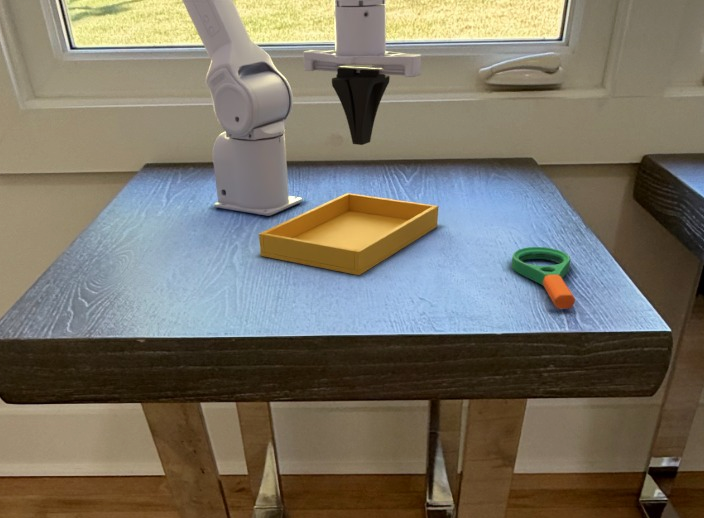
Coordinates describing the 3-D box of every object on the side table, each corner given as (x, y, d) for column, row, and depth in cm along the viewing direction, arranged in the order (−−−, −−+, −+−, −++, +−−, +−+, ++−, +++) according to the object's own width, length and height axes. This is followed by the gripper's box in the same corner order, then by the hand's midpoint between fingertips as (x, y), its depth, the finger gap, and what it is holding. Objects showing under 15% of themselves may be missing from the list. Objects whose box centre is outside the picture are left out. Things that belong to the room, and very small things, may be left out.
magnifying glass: (507, 258, 79) (508, 242, 78) (561, 257, 79) (564, 241, 78) (531, 312, 67) (533, 295, 66) (595, 312, 67) (598, 294, 66)
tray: (260, 255, 81) (258, 233, 79) (347, 212, 94) (347, 192, 92) (359, 275, 75) (359, 251, 74) (437, 226, 88) (438, 205, 87)
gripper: (284, 6, 77) (293, 143, 86) (400, 8, 71) (397, 155, 80) (320, 3, 82) (325, 133, 91) (432, 4, 76) (426, 143, 84)
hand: (361, 143), depth 85 cm, fingers closed
